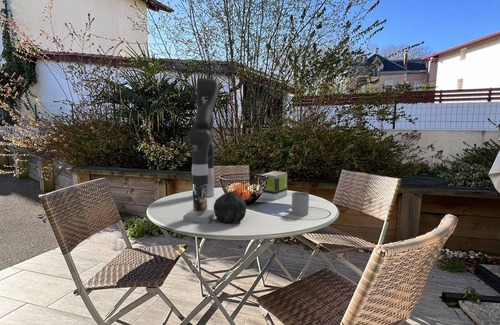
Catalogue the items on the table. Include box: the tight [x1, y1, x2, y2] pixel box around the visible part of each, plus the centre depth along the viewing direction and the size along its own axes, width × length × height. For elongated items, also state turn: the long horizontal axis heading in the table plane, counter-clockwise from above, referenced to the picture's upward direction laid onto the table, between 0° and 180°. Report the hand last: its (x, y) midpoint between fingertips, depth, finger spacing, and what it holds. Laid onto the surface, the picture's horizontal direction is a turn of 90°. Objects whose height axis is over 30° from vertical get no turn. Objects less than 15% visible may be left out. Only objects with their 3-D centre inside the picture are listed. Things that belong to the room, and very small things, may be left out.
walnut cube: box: [192, 198, 208, 212], centre depth 146 cm, size 5×5×5 cm
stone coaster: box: [183, 208, 216, 224], centre depth 147 cm, size 12×12×2 cm
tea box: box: [260, 170, 288, 201], centre depth 190 cm, size 15×10×15 cm
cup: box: [291, 191, 310, 217], centre depth 156 cm, size 8×8×10 cm
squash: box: [213, 191, 247, 224], centre depth 143 cm, size 14×15×15 cm
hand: (200, 209), depth 147 cm, fingers closed on walnut cube, 4 cm apart
